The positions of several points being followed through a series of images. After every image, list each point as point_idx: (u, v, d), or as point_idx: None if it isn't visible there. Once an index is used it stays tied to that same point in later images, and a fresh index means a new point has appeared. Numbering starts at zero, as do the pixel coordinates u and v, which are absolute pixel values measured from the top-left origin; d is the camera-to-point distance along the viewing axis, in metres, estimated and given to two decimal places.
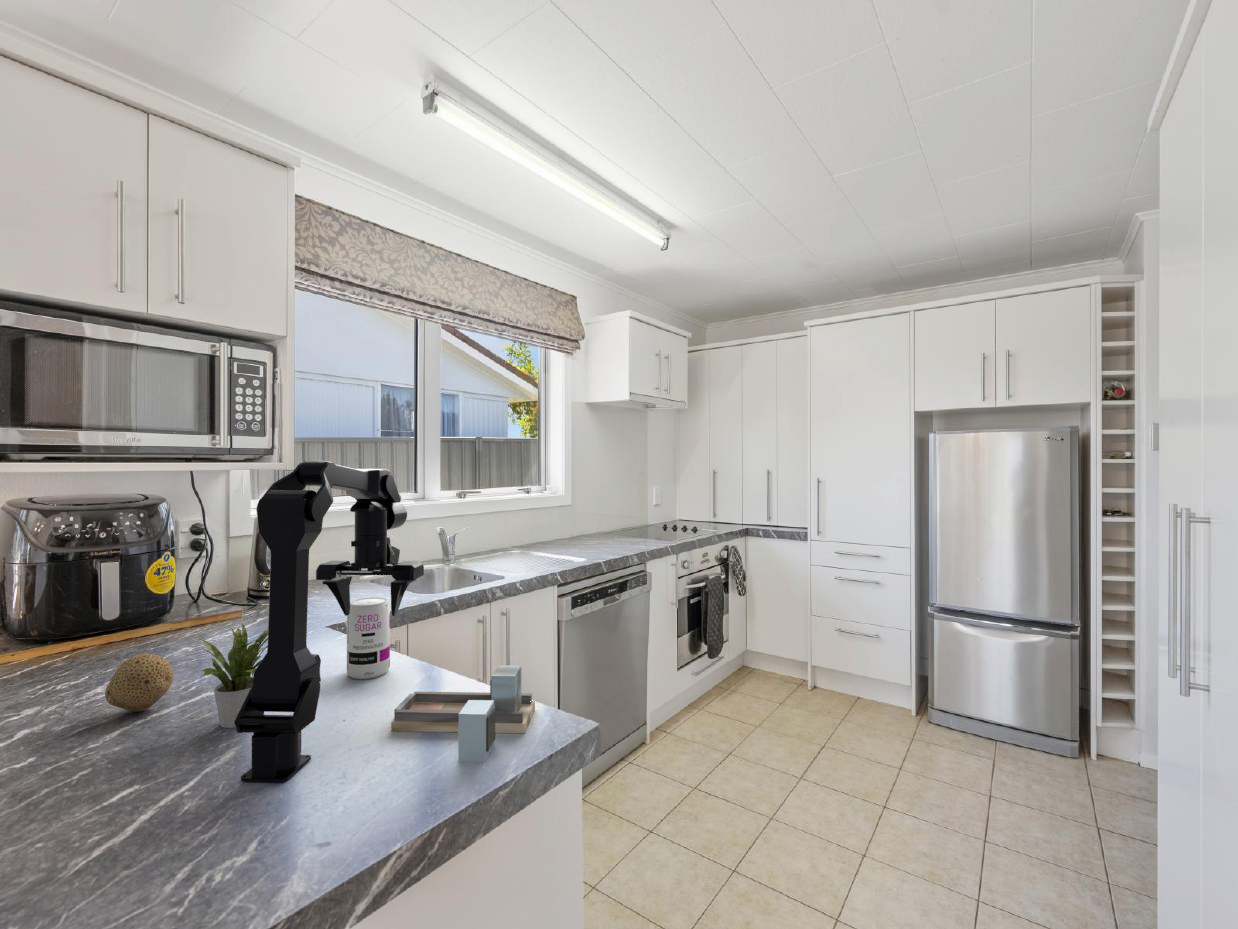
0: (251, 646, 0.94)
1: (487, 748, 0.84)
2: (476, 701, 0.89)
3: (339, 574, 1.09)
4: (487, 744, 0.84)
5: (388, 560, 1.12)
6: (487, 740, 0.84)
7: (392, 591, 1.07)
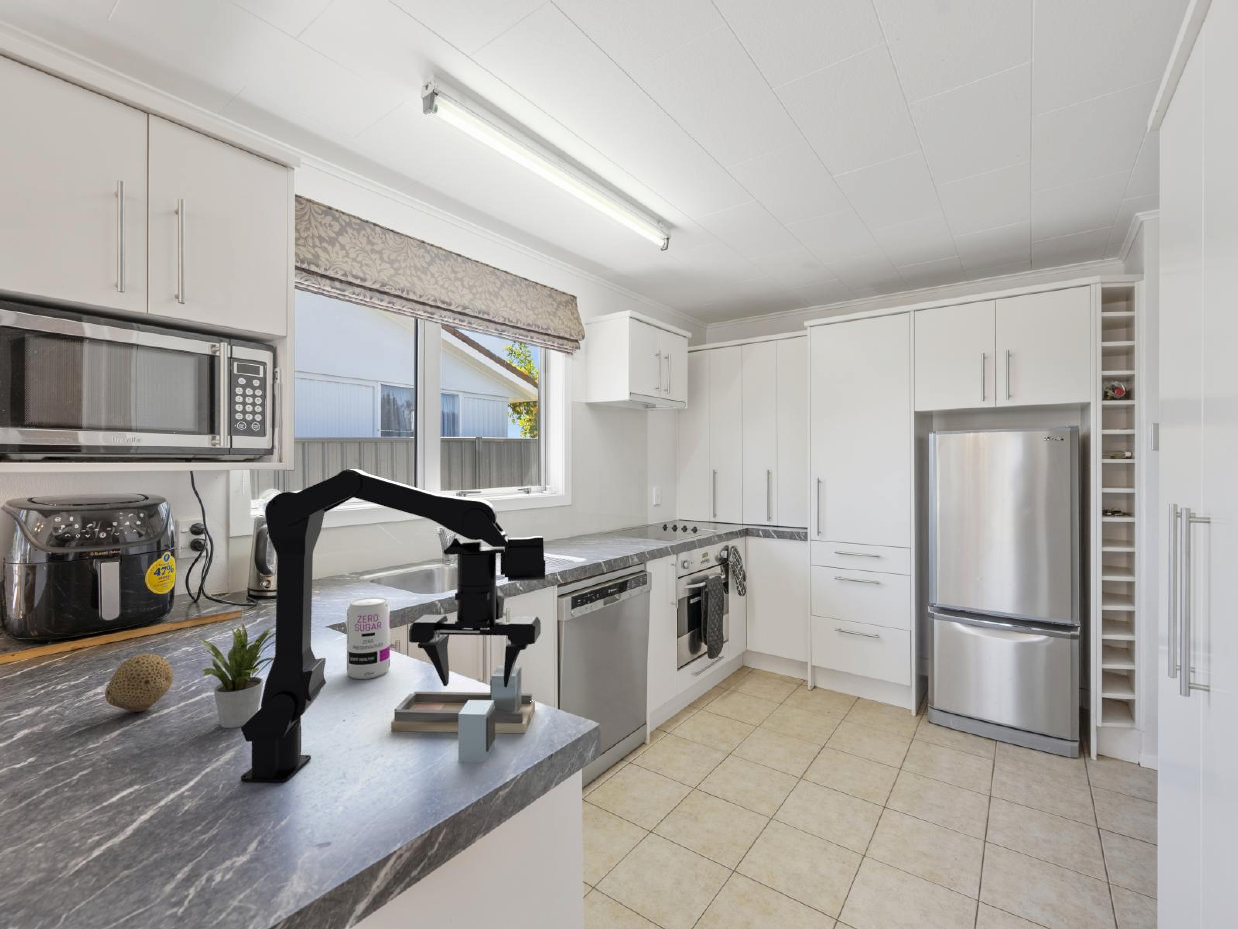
0: (251, 646, 0.94)
1: (487, 748, 0.84)
2: (475, 701, 0.89)
3: (437, 634, 0.86)
4: (487, 744, 0.84)
5: (496, 614, 0.88)
6: (487, 740, 0.84)
7: (507, 657, 0.84)
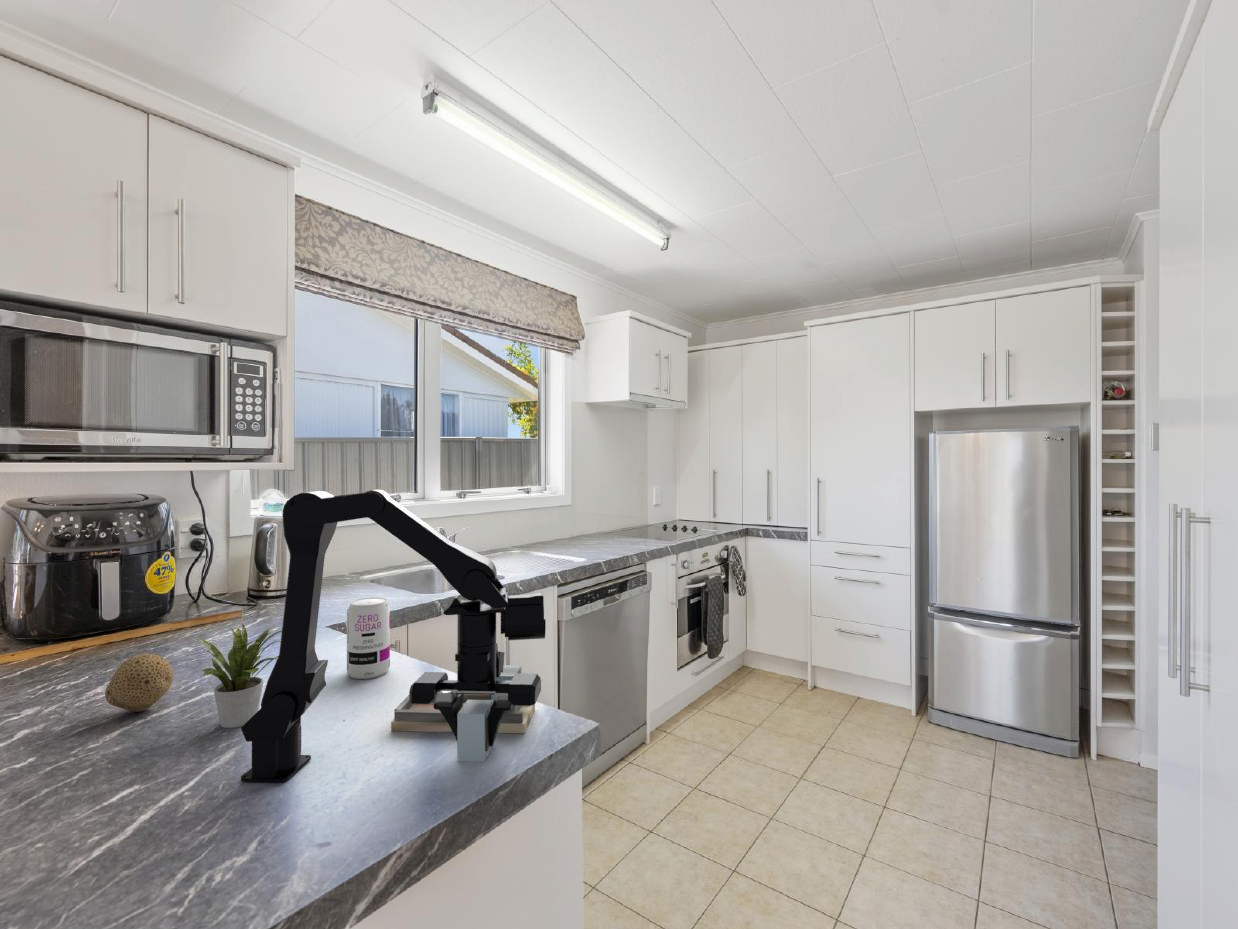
0: (251, 646, 0.94)
1: (486, 748, 0.84)
2: (475, 701, 0.89)
3: (453, 694, 0.85)
4: (486, 744, 0.84)
5: (496, 672, 0.88)
6: (486, 740, 0.84)
7: (492, 718, 0.84)
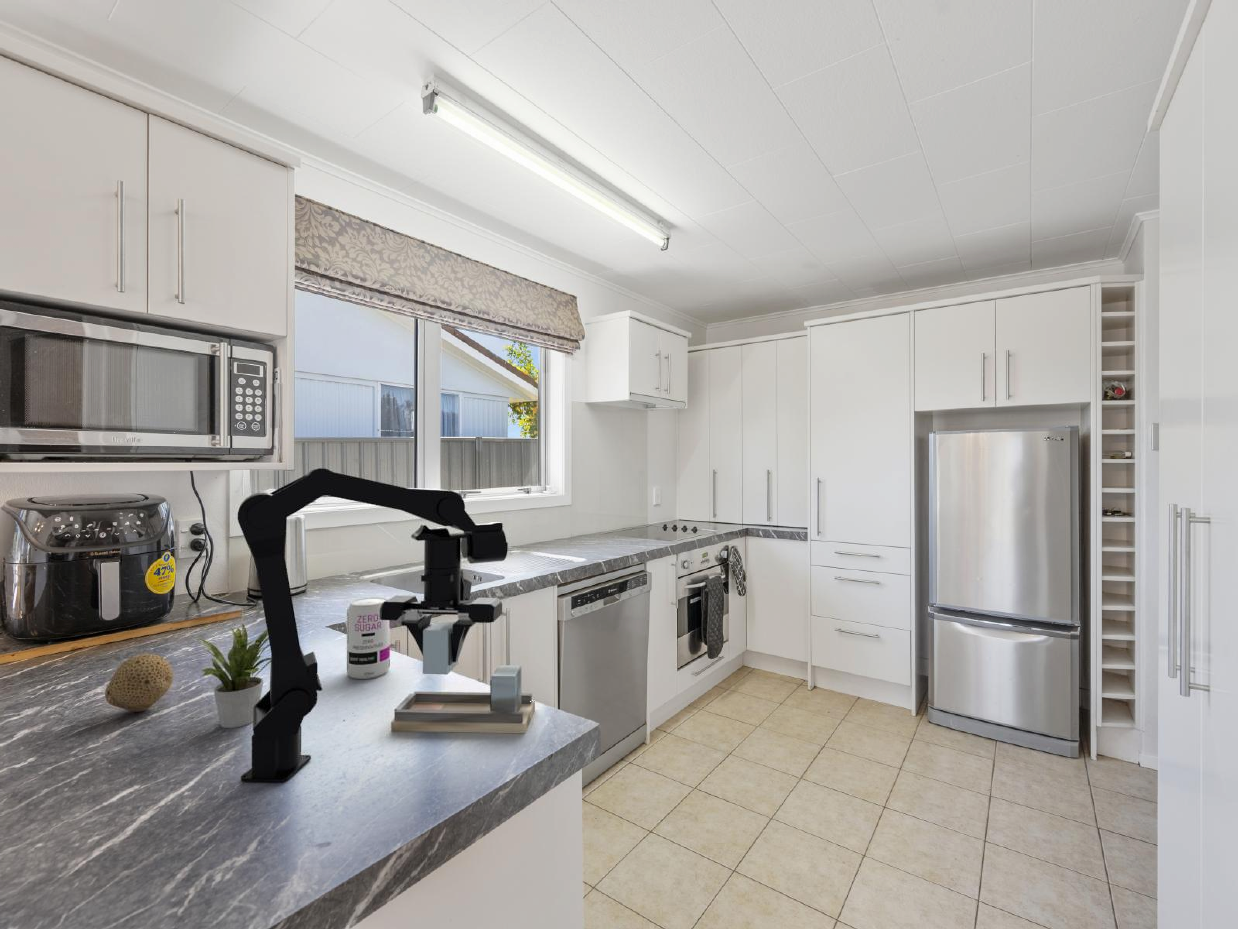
0: (251, 646, 0.94)
1: (449, 662, 0.92)
2: (441, 622, 0.96)
3: (420, 613, 0.93)
4: (449, 658, 0.92)
5: (461, 596, 0.96)
6: (449, 655, 0.92)
7: (454, 634, 0.91)
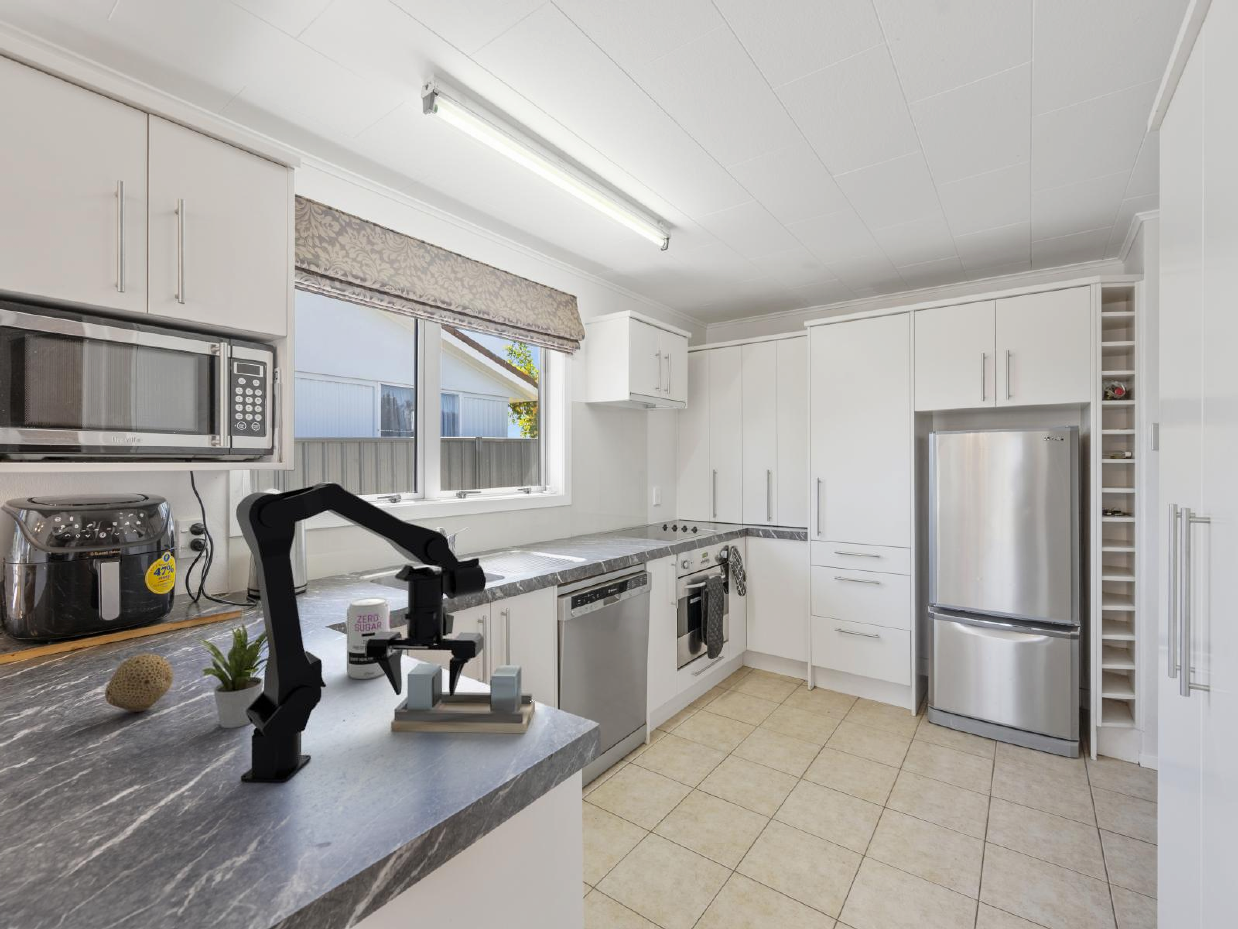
0: (251, 646, 0.94)
1: (433, 704, 0.96)
2: (425, 664, 1.00)
3: (390, 649, 0.97)
4: (433, 701, 0.96)
5: (443, 631, 1.00)
6: (433, 697, 0.96)
7: (451, 670, 0.95)
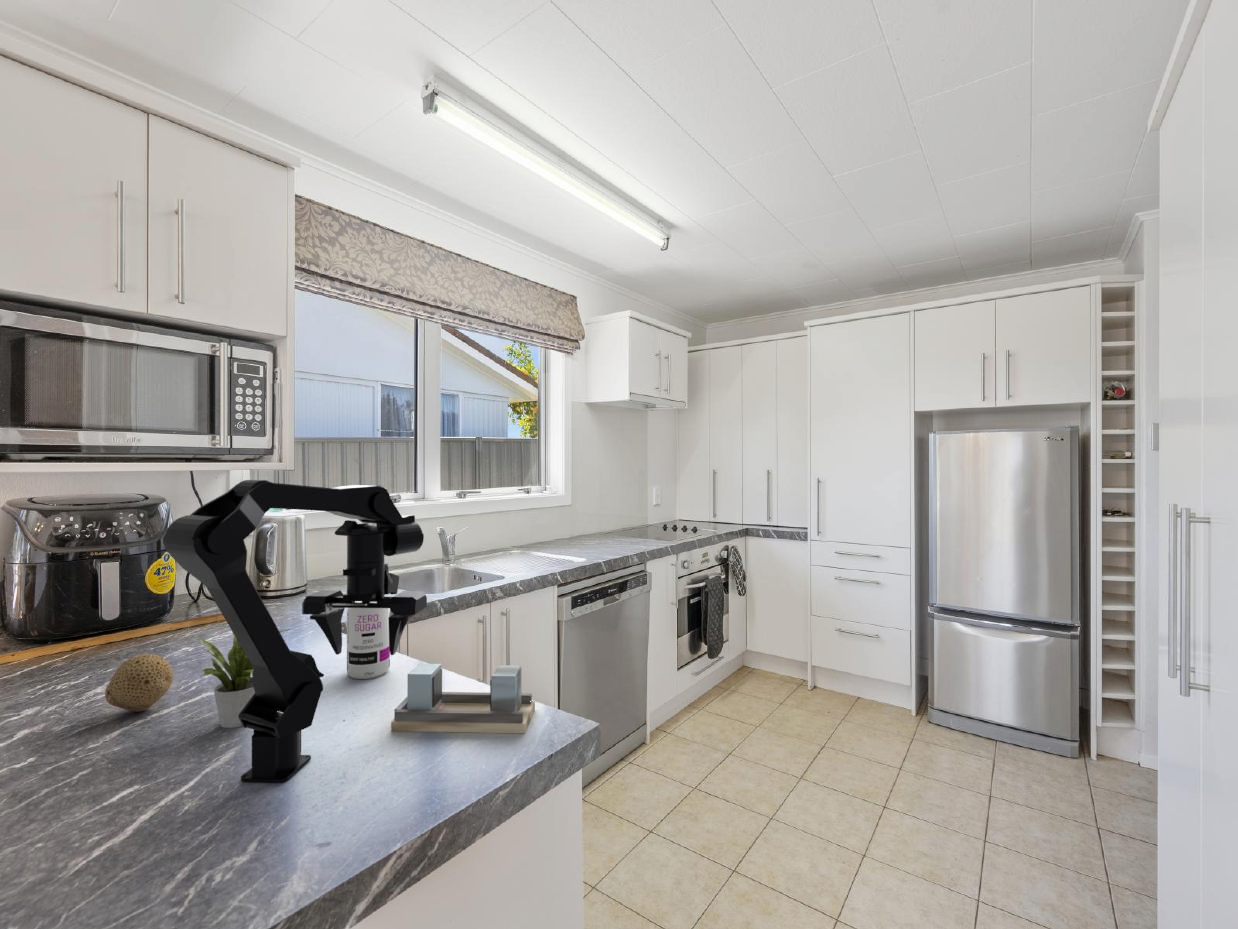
0: None
1: (433, 704, 0.96)
2: (425, 664, 1.00)
3: (329, 607, 0.94)
4: (433, 701, 0.96)
5: (385, 590, 0.97)
6: (433, 697, 0.96)
7: (390, 627, 0.93)
